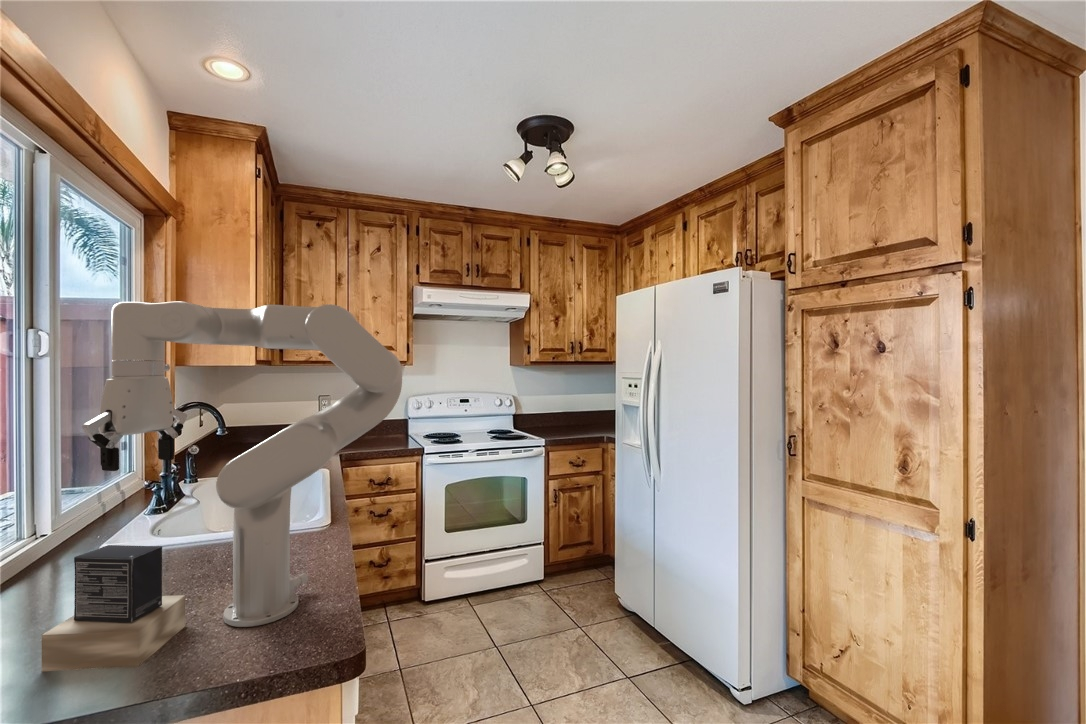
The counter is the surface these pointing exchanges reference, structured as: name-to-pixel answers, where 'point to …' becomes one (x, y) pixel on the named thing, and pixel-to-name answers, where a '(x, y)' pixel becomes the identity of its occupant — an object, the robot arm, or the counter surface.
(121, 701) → the counter surface
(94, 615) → the small box
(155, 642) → the birch block
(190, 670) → the counter surface
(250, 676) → the counter surface
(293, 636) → the counter surface
